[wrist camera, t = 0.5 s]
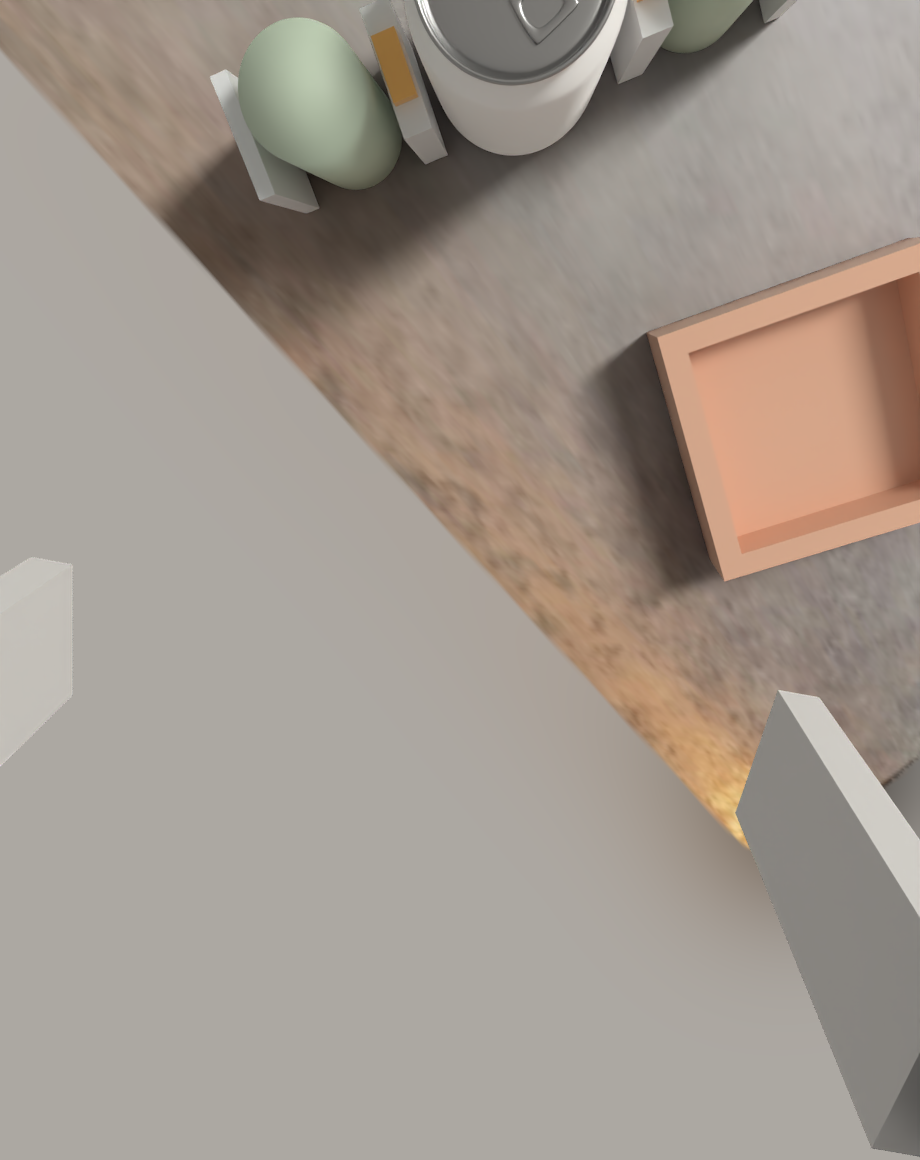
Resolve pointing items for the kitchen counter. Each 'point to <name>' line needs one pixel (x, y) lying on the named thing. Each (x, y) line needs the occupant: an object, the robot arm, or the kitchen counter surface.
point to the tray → (800, 410)
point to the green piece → (700, 22)
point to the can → (514, 64)
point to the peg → (318, 105)
